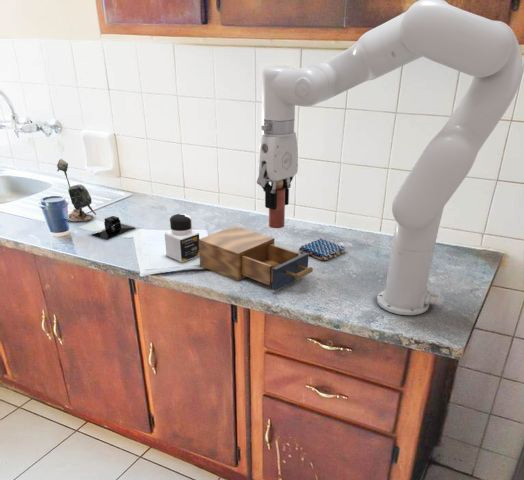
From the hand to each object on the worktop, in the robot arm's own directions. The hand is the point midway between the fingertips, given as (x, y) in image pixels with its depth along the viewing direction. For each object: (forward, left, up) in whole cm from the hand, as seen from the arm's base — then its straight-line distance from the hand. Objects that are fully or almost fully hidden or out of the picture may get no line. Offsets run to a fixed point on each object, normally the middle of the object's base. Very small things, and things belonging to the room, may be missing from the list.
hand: (276, 205), depth 128 cm
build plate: (+60, -13, -20) cm, 64 cm away
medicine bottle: (+30, -4, -20) cm, 36 cm away
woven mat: (-7, -22, -20) cm, 31 cm away
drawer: (-1, +1, -19) cm, 19 cm away
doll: (0, 0, -5) cm, 5 cm away
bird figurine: (+77, -19, -20) cm, 82 cm away
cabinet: (+13, -4, -20) cm, 24 cm away
